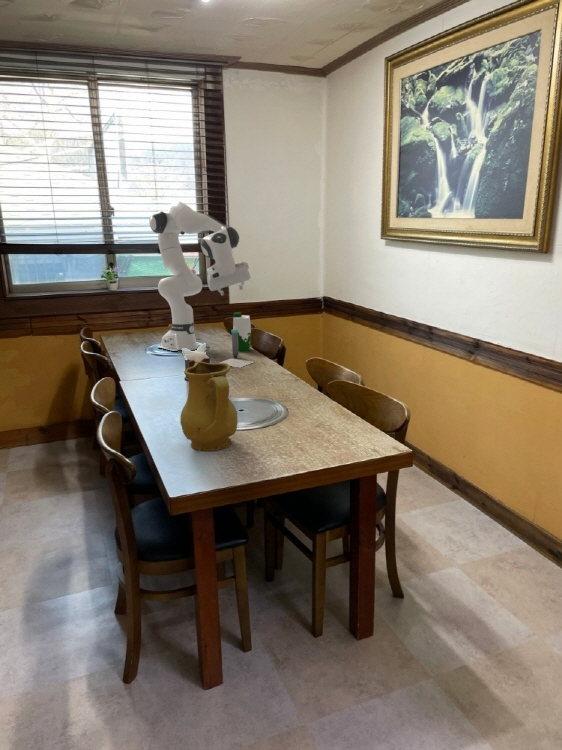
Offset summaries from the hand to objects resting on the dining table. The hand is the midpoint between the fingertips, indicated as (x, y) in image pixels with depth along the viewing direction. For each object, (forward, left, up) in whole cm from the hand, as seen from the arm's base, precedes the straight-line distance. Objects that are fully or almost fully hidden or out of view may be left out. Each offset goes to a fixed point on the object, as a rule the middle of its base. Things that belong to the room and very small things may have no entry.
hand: (231, 291), depth 255 cm
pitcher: (+56, -91, -34) cm, 112 cm away
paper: (+5, -7, -33) cm, 34 cm away
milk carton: (-8, +18, -34) cm, 39 cm away
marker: (-2, +3, -33) cm, 33 cm away
